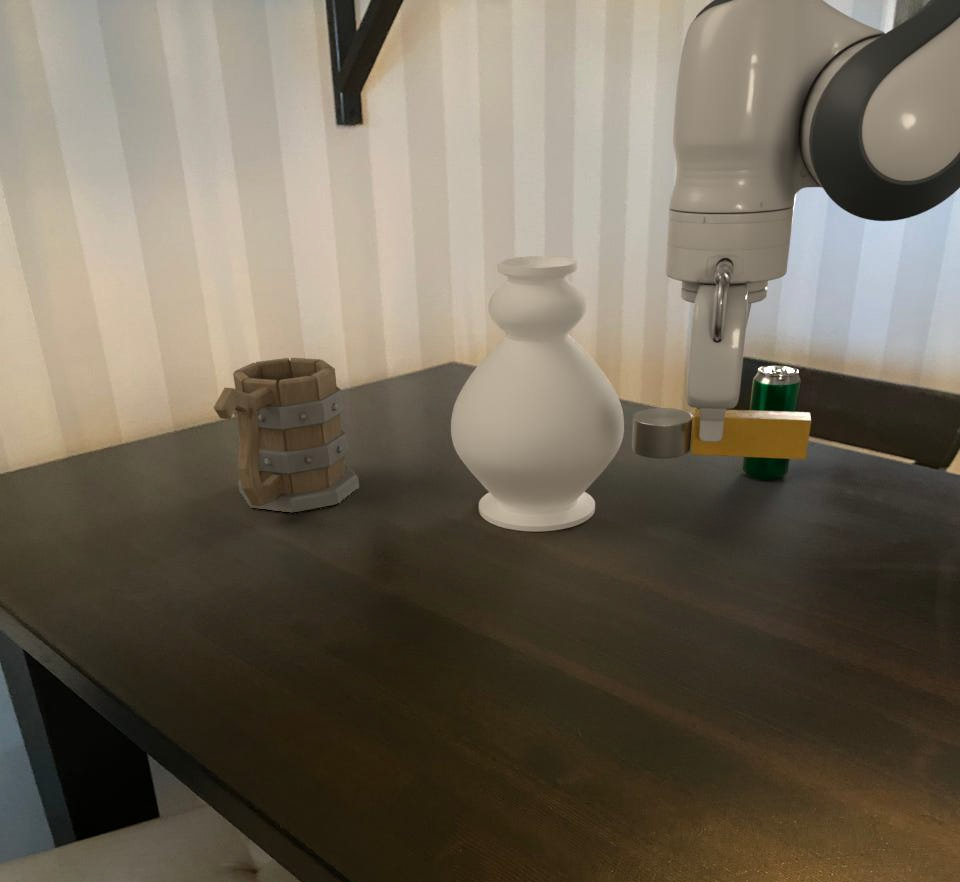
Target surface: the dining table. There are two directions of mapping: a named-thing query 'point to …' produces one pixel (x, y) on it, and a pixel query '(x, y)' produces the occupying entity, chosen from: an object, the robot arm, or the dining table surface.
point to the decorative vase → (537, 405)
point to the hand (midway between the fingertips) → (711, 432)
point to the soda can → (772, 393)
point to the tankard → (289, 434)
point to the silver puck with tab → (741, 434)
